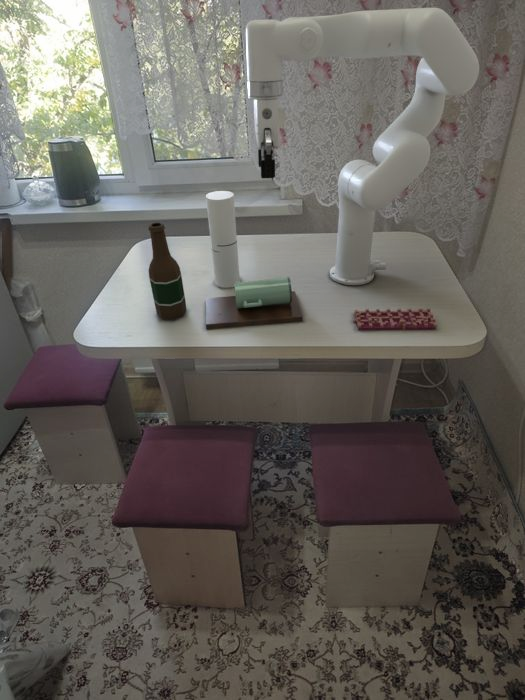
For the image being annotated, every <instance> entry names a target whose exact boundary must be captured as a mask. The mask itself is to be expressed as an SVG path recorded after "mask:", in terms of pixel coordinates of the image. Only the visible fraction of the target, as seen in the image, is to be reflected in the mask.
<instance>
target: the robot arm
mask: <svg viewBox="0 0 525 700" xmlns="http://www.w3.org/2000/svg"><path fill="white" fill-rule="evenodd" d="M245 47H246V49H245V50H246V51H245V52H246V76H247V77H246V79H247V99H249V100H253V117H254V118H253V119H254V133H255V141H256V145H257V163H258V167H259V168H260V177H261V179H274V178H275V177H276V159H275V150H274V149H275V148H276V149H280V145H281V144H280V112H279V111H280V109H279V99H280V100H281V99H282V98H283V64H284V63H283V62H284V61H293V62H300V63H301V62H302V63H304V62H308V61H311V60H313V59H314V58H316V57H336V58H343V59H350V60H366V59H377V58H378V59H379V58H391V57H407V56H410V57H411V56H413V57H420V58H421V59H420V60H419V63H418V64H417V68H416V73H415V88H414V93H413V96H412V99H411V101H410V102H409V104H408V105H407V106H406V108H405V109H404V110H403V111H402V112H401V113H400V114H399V115H398V116H397V117H396V119H394V120H393V122H392V123H390V125H389V126H388V127H387V128H386V129H385V130H384V131H382V133H381V134H380V135H379V136H378V137H377V138H376V140H375V142H374V143H373V146H372V155H373V157H374V159H375V161H376V162H377V163H378V165H375V164H374V163H371V162H370V161H368V160H366V159H353V160H350V161H348V162H347V163H346V164H344V166H343V167H342V169H341V170H340V173H339V175H338V179H337V193H338V223H337V237H336V239H337V240H336V251H335V252H336V253H335V265H333V266H332V267H331V268H330V269H329V277H330V279H331V280H332V281H334V282H336V283H337V284H341V285H344V286H345V285H346V286H362V285H366V284H368V283H370V282H371V281H373V279H375V278H374V276H375V271H378V270H379V271H383V270H387V262H380V260H378V259H376V260H371V254H372V247H373V237H374V229H375V220H376V212H378V211H380V210H383V209H385V208H386V207H387V206H390V204H392V202H394V200H396V199H397V198H398V197H399V196H401V194H402V193H403V192H404V191H405V190H406V189H407V188H408V187H409V186H410V185H411V184H412V183H413V182H414V181H415V180H416V179H417V178H418V177H419V176H420V175H421V174H422V173H423V172H424V170H425V168H426V167H427V166H428V163H429V160H430V157H431V145H430V143H429V140H428V139H427V138H428V136H429V135H430V134H431V133H432V132H433V131H434V130H435V128H436V127H437V126H438V124H439V123H440V121H441V119H442V116H443V113H444V108H445V103H446V96H451V97H457V96H458V97H459V96H462V95H464V94H466V93H467V92H469V91H470V90H471V89H472V88H473V87H474V85H475V84H476V82H477V80H478V77H479V73H480V63H479V59H478V56H477V54H476V53H475V50H474V49H473V47H472V46H471V44H470V43H469V42H468V40H467V38H466V37H465V36H464V34H463V33H462V31H461V30H460V29H459V27H458V25H457V24H456V22H455V21H454V19H452V17H451V16H450V15H449V14H448V13H447V12H446V11H445V10H444V9H442V8H439V7H416V8H415V7H414V8H413V7H412V8H396V9H395V8H391V9H374V10H373V9H372V10H357V11H350V12H346V13H339V14H332V15H331V14H330V15H317V16H316V15H314V16H292V17H287V18H285V19H283V20H278V19H268V18H267V19H253V20H250V21H248V22H247V24H246V26H245Z"/></svg>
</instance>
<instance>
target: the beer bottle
mask: <svg viewBox="0 0 525 700" xmlns="http://www.w3.org/2000/svg"><path fill="white" fill-rule="evenodd" d="M165 229H166V227H165V225H164V224H163V223H162V222H153V223H150V224H149V225H148V229H147V230H148V231H149V233H150V241H151V249H152V258H151V261H150V263H149V267H148V278H149V283H150V288H151V293H152V297H153V303H154V307H155V312H156V315H157V316H158V317H159V318H160V319H161V320H163V321H176V320H178V319H180V318H183V317H184V316H185V313H186V312H187V302H186V296H185V289H184V283H183V277H182V271H181V267H180V265H179V263H178V262H177V260H176V259H175V258H174V257H173V256H172V254H171V252H170V249H169V244H168V240H167V237H166V232H165Z"/></svg>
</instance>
